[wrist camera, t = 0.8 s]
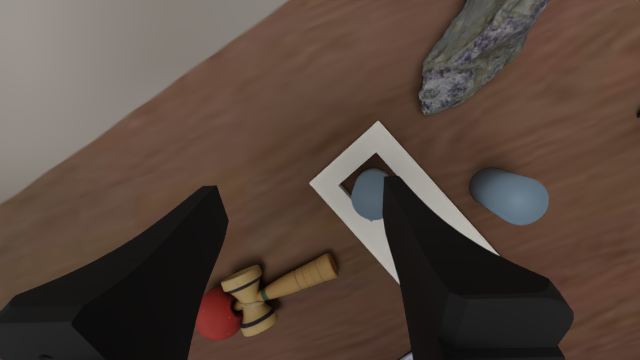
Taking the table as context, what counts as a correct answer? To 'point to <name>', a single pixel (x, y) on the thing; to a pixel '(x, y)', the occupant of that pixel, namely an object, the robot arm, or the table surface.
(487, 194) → the loose pin
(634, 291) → the table surface
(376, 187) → the pin
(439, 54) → the mineral rock
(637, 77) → the table surface
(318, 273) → the kendama
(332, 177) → the pin board
